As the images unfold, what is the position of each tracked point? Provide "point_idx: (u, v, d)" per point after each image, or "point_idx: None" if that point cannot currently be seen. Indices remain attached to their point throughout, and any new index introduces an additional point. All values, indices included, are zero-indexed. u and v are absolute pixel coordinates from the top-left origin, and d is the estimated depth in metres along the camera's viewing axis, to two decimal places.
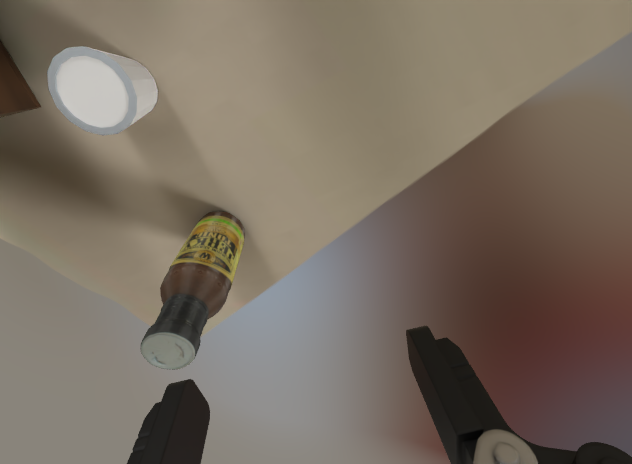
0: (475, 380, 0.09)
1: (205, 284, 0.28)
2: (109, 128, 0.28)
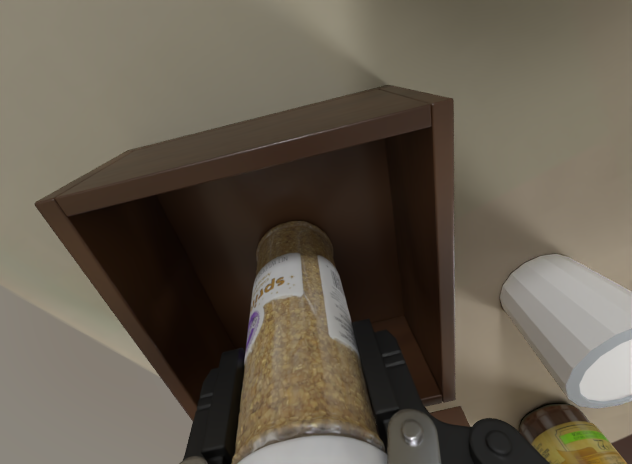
0: (404, 367, 0.10)
1: None
2: (615, 402, 0.18)
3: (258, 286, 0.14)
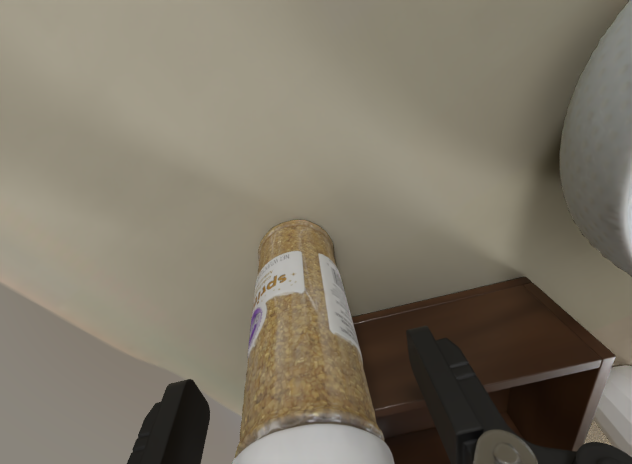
0: (475, 380, 0.09)
1: None
2: None
3: (260, 283, 0.14)
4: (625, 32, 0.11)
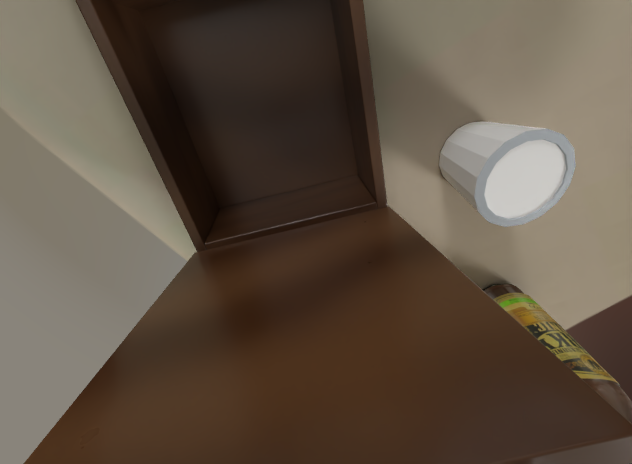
0: None
1: None
2: (518, 219, 0.22)
3: None
4: None
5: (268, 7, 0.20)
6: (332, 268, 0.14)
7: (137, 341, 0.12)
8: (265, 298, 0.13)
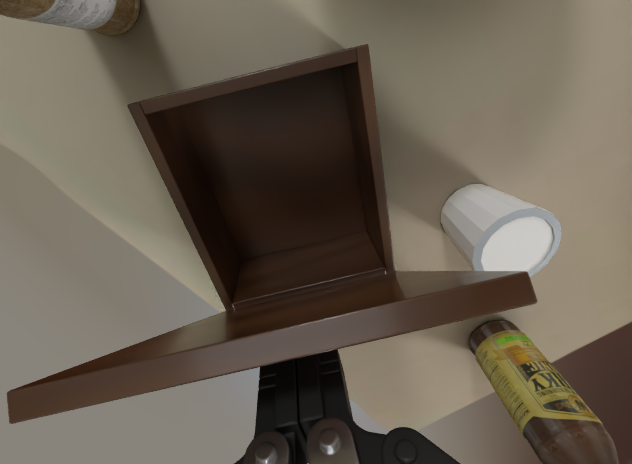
0: (338, 375, 0.10)
1: (614, 450, 0.25)
2: None
3: None
4: None
5: (290, 97, 0.23)
6: (338, 290, 0.17)
7: (171, 332, 0.15)
8: (279, 306, 0.15)
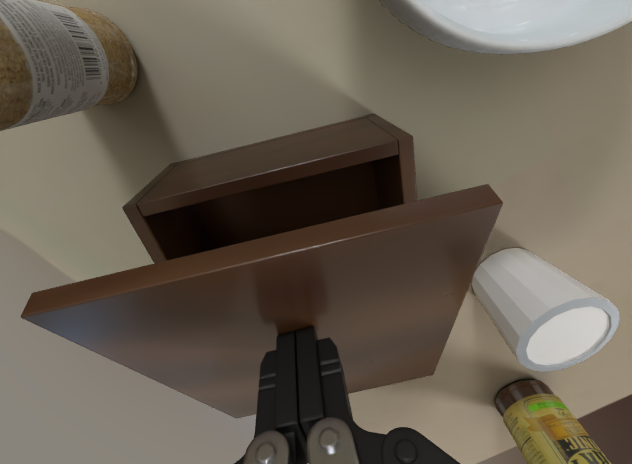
0: (338, 375, 0.10)
1: None
2: (558, 366, 0.22)
3: None
4: None
5: None
6: None
7: None
8: None
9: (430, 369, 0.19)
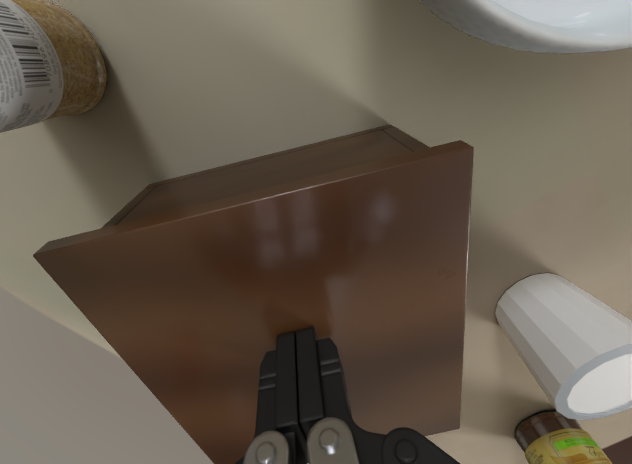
0: (338, 375, 0.10)
1: None
2: (601, 415, 0.19)
3: None
4: None
5: None
6: None
7: None
8: None
9: (453, 416, 0.17)
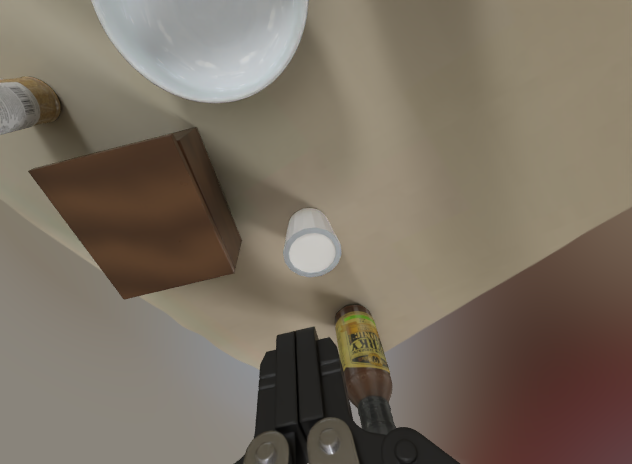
0: (338, 375, 0.10)
1: (385, 386, 0.38)
2: (316, 273, 0.38)
3: None
4: None
5: None
6: None
7: None
8: None
9: (226, 264, 0.35)
